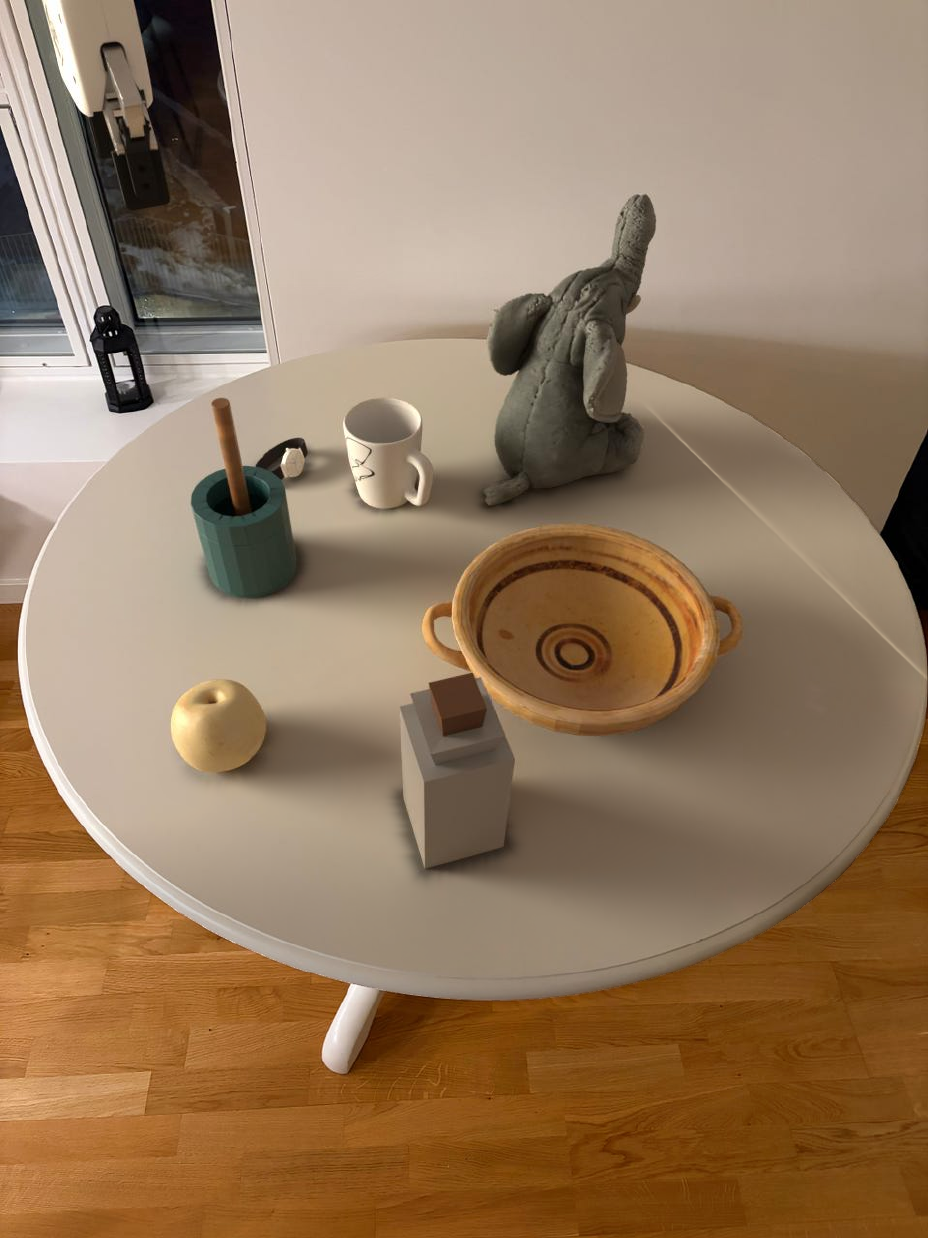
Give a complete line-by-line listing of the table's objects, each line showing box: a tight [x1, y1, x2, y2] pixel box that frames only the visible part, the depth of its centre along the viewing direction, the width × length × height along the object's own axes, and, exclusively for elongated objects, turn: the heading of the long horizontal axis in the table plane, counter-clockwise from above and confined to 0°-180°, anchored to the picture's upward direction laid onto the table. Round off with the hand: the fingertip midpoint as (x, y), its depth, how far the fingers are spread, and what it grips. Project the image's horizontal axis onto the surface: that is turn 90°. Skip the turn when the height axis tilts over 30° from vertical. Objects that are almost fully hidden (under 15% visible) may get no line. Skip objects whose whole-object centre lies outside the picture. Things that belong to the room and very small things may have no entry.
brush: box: [210, 397, 252, 516], centre depth 87 cm, size 4×4×20 cm
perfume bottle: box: [399, 672, 516, 870], centre depth 69 cm, size 7×7×18 cm
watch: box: [255, 437, 309, 481], centre depth 104 cm, size 8×5×4 cm, turn 151°
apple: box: [170, 678, 267, 773], centre depth 78 cm, size 8×8×8 cm
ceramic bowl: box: [421, 522, 744, 737], centre depth 84 cm, size 30×24×8 cm
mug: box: [342, 396, 435, 510], centre depth 99 cm, size 11×8×10 cm
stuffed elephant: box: [483, 193, 657, 506], centre depth 99 cm, size 19×21×27 cm
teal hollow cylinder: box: [190, 465, 297, 599], centre depth 91 cm, size 9×9×10 cm
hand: (133, 179), depth 69 cm, fingers open, 9 cm apart
